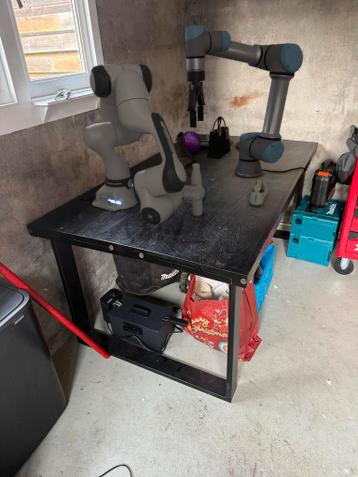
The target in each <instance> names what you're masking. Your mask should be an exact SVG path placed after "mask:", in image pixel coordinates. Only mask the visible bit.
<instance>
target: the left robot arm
mask: <svg viewBox="0 0 358 477" xmlns="http://www.w3.org/2000/svg"><path fill="white" fill-rule="evenodd" d="M89 86H90V89H91V90H92V93H93V94H94V95H95V96H96V97H97V98H99V111H100V114H101V116H102V117H103V118H104V119H105V120H107V121H103V122H97V123H93V124H90V125H87V126H86V127H85V128H84V129H83V132H82V139H83V142H84V144H85V145H86V147H87V148H88V149H90V150H92V151H94V152H95V153H97V154H98V155H99V157H100V158H101V160H102V162H103V165H104V168H105V169H104V170H105V173H106V174H105V175H106V176H105V177H104V178H102V182H104V184H103V185H102V186H101V187H100V188H99V189H98V190H97V191H96V192H94V193H91V194H89V195H88V197H84V196H82V197H81V199H82V200H85V201H89V200H91V197H93V199H94V200H93V201H92V203H91V204H92V205H91V206H92V207H96V208H99V209H103V210H107V211H111V212H116V211H119V210H120V211H121V210H126V209H130V208H132V207H134V206H136V205H137V204H138V201H139V202H140V210H139V211H140V213H139V214H140V216H141V219H142V220H143V221H144V222H145V223H147V224H149V225H151V226H152V225H153V226H157V225H160V224H162V223H164V222H165V221H166V220H167V219H169V217H171V216H172V215H173V213H174V212H176V211H177V209H179V207H181V206H182V205H183V202H184V203H192V202H193V203H194V202H198V201H200V200H201V199H202V198H203V199H204V198H205V194H206V192H205V188H204V187H203V186H202V187H198V184H193V186H192V185H188V184H187V182H188V174H187V171H186V168H185V167H183V165H182V163H181V161H180V159H179V157H178V154H177V152H176V151H177V148H176V146H175V143H174V141H173V138H172V136H171V134H170V130H169V128H168V125H167V124H166V121H165V119H164V118H163V116H162V115H161V114H160V113H159V112H155V110H154V109H153V107H152V104H151V100H150V95H149V94H150V92H151V91H152V90H153V73H152V71H151V69H150V68H149V66H148V65H146V64H144V63H131V62H130V63H129V62H120V63H111V64H104V65H103V64H98V65H94V66H92V67H91V70H90V74H89ZM141 135H151V136H152V137H153V139H154V141H155V144H156V146H157V149H158V151H159V154H160V158H161V163H159V164H158V165H154V166H151V167H147V168H145V169H143V170H139V171H137V172H136V173H135V174H134V176H133V177H132V173H131V168H130V160H129V159H128V157H127V156H126V155H124V154H121V153H120V152H119V153H118V152H116V150H115V148H117V147H123V146H128V145H131V144H134V143H136V142H138V141H139V140H140V138H141ZM186 184H187V185H186ZM137 199H138V200H137ZM203 199H202V200H203Z"/></svg>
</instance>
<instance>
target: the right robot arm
mask: <svg viewBox="0 0 358 477" xmlns="http://www.w3.org/2000/svg"><path fill="white" fill-rule="evenodd" d="M184 35H185V36H184V37H185V38H184V41H185V58H186V60H185V62H184V64H185V65H186V70H187V72H186V81H187V82H189V83H190V82H191V84H189V85H188V102H187V109H186V111H187V112H189V128H190V129H192V128H193V129H194V128H195V129H196V128H197V122H204V120H205V114H204V113H205V109H204V106H206V100H205V94H204V93H205V92H204V85H203V84H204V83H203V82H204V81H206V71H205V69H206V55H207V56H212V57H216V58H221V59H225V60H231V61H235V62H239V63H245V64H247V65H248V66H249V67H252V68H256V69H259V70H261V71H265V72H269V73H268V76H269V78H270V86H269V91H268V96H267V103H266V108H265V114H264V119H263V125H262V131H261V132H260V131H251V132H244V133H242V134H240V136H239V141H238V142H239V150H238V162H237V165H236V167H235V169H234V174H235V176H236V177H239V178H243V179H255V178H259V177H261V176H262V175H263V172H268V173H275V174H283V173H288V172H291V171H296V170H304V171H307V172H308V169H307V168H306V167H304V166H299V167H295V168H294V167H293V168H289V169H286V170H269V169H264V168H262V165H261V162H263V163H265V164H275V163H277V162H278V161H279V160H280V159H281V158H282V156H283V155H284V152H285V145H284V143H283V142H282V137H283V136H282V135H281V127H282V123H283V117H284V111H285V107H286V102H287V96H288V92H289V88H290V83H291V80H292V79H294V78H295V75H296V74H295V73H297V72H298V71H299V70H300V69H301V68H302V65H303V62H304V52H303V50H302V48H301V46H300V45H299V44H297V43H294V42H293V43H292V42H286V43H272V44H258V43H254V44H252V45H251V44H247V43H243V42H240V41H235V40H232V36H231V33H230V32H229V31H227V30H222V29H221V30H208V31H207V30H206V28H205V26H204V25H188V26H186V28H185V34H184ZM196 108H197V110H196Z"/></svg>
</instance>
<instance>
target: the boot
mask: <svg viewBox="0 0 358 477" xmlns="http://www.w3.org/2000/svg"><path fill="white" fill-rule="evenodd" d="M184 133H185V132H184V131H179V132H178V133H177V135H176V138H175V141H176V152H177V154H178V157H179V159H180V161H181V163H182V165H183V167H184V168H185V167H186V166H187V165H188V164H190V163H192V162H193V159H194V158H193V155H192V153H190V152H188V150H187V146H186V142H185V138H184Z"/></svg>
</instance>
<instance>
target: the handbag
mask: <svg viewBox="0 0 358 477" xmlns="http://www.w3.org/2000/svg"><path fill="white" fill-rule="evenodd" d="M222 122H223V126H221V125H222ZM216 123H217V124H216ZM216 125H217V126H216ZM215 126H216V127H217V128H215ZM208 135H209V144H208V147H207V154H206V155H207V156H206V157H207V158H212V159H220V158H222V157H224V156H225V155H227V154H228V153H230V152H231V145H230V140H231V139H230V136H231V134H230V128H229V126H227V124H226V120H225V118H224V117H223V116H221V115H219V116H218V117H217V118H216V119H215V121H214V123H213V125H212V128H211V129H210V131H209V134H208Z"/></svg>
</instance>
